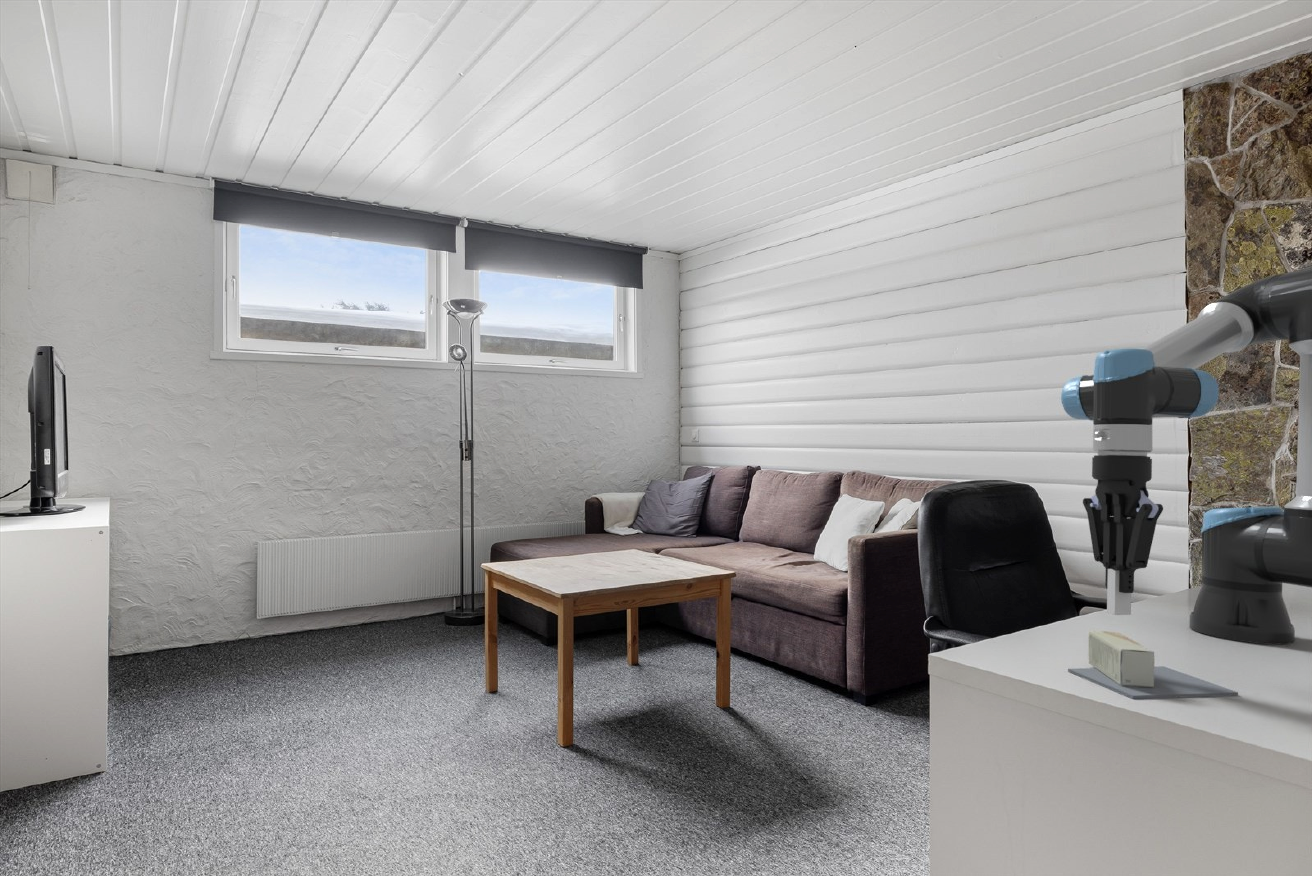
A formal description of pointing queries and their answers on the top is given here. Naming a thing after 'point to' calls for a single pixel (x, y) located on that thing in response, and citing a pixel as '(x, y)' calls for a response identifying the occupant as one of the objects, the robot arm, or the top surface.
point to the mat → (1158, 684)
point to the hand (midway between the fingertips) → (1118, 613)
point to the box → (1121, 659)
